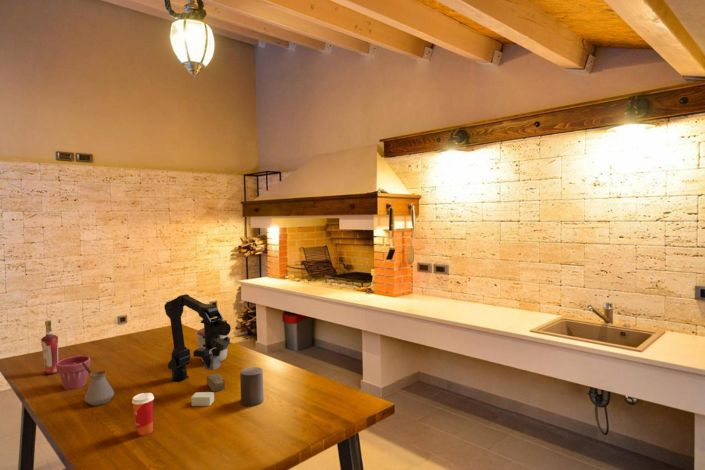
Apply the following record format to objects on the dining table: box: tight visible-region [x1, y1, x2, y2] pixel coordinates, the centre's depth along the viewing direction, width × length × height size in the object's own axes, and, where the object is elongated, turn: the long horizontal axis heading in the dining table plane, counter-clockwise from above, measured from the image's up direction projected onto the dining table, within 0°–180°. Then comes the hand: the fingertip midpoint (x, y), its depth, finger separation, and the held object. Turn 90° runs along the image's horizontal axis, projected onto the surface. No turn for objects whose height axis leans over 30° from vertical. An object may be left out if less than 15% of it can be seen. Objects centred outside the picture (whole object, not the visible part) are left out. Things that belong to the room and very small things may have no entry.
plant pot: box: [56, 355, 92, 391], centre depth 214 cm, size 14×14×13 cm
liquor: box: [40, 319, 59, 375], centre depth 233 cm, size 7×7×28 cm
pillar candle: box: [239, 366, 265, 407], centre depth 191 cm, size 10×10×15 cm
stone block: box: [206, 373, 226, 393], centre depth 208 cm, size 6×12×5 cm, turn 34°
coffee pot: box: [80, 363, 115, 406], centre depth 199 cm, size 21×12×15 cm, turn 53°
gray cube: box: [204, 355, 221, 371], centre depth 207 cm, size 5×5×5 cm
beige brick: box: [190, 391, 215, 407], centre depth 191 cm, size 8×5×4 cm, turn 87°
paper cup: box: [131, 392, 155, 437], centre depth 168 cm, size 8×8×14 cm
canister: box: [195, 327, 229, 363], centre depth 244 cm, size 18×18×21 cm
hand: (212, 365), depth 207 cm, fingers closed on gray cube, 5 cm apart
